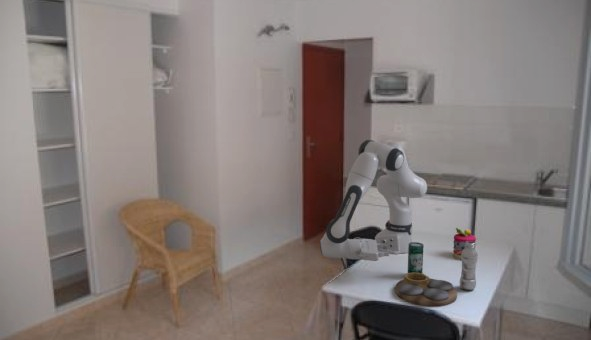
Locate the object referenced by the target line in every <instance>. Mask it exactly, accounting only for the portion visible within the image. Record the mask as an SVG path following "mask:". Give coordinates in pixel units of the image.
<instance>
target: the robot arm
mask: <svg viewBox="0 0 591 340" xmlns="http://www.w3.org/2000/svg"><path fill="white" fill-rule="evenodd" d="M357 155H358V157H357V158H356V160H355V162H353V165H352V166H351V169H350V171H349V174H348V176H347V179H346V183H345V190H344V192H345V193H344V198H343V200H342V203H341V205H340V208H339V209H338V212H337V213H336V216H335V217H334V218H333V219H332V220H331V221H330V222H329V223H328V224H327V226H326V230H325V233H324V235H323V236H322V238H321V239H320V241H319V247H320V253H321V254H322V256H324V258H330V259H348V260H364V261H370V262H371V261H372V262H377V261H379V258H382V257H389V256H390V254H394V255H398V254H399V255H400V254H406V253H407V254H408V247H409V243H411V242H413V241H412V234H413V224H412V207H410V205H409V204H407V203H405V202H404V200H403V199H402V198H409V199H410V198H411V199H416V198H423V197H424V196H425V195H426V194H427V190H428V185H427V184H428V183H427V182H426V180H425V179H424V178H423V177H420V176H418V175H417V174H416V173H415V172H414V171H413V170H411V167H410V166H409V163H408V159H407V155H406V152H405V150H404V147H403V146H402V144H401V143H399V142H397V141H393V140H392V141H388V142H387V143H383V142H379V141H375V140H374V139H373V140H371V139H366V140H364V141H363V142H362V143H361V144H360V145H359V147H358V154H357ZM378 168H381V169H385V172H386V173H385V174H384V175H381V176H379V177H378V179H377V181H376V189H377V191H378V193H379V194H380V195H382V197H383V198H384V199H385V200H386V203H387V205H388V210H389V219H388V220H387V221H386V222H385V224H384V225H385V228H384V229H382V230H381V231H380V232H378V233H377V234H376V235H375V236H374V239H372V238H361V237H360V236H359V237H354V238H353V239H352V238H349V237H350V234H351V231H350V230H351V229H350V224H351V221H352V218H353V216H354V214H355V211H356V208H357V206H358V205H359V203H360V201H362V199H363V198H364V197H365V196H366V194H367V193H368V192H369V190H370V188H371V186H372V184H373V182H374V180H375V177H376V175H377V172H378Z"/></svg>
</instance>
